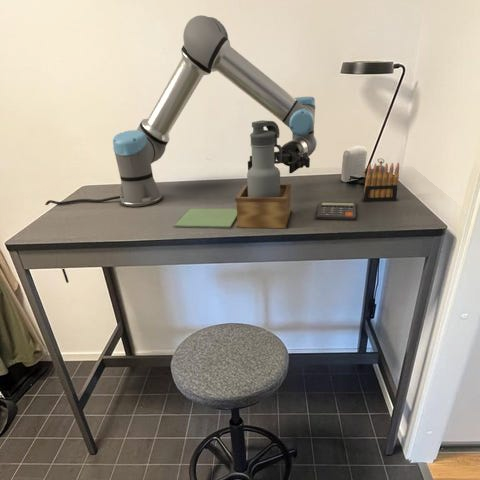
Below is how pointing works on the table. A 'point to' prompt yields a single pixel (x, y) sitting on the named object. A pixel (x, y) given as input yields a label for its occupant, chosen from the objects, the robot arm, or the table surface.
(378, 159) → the pocket watch
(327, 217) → the calculator
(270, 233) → the table surface
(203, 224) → the desk mat
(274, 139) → the water bottle
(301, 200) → the table surface
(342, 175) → the photo printer
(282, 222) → the wooden box
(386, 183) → the ammunition clip
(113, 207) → the table surface
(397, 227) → the table surface
